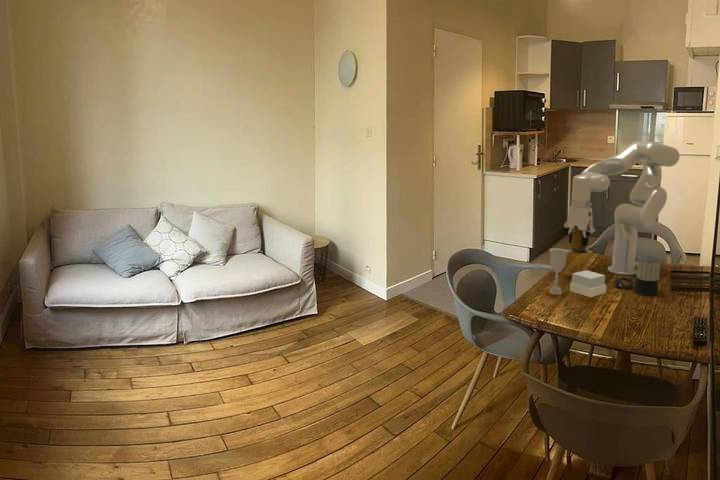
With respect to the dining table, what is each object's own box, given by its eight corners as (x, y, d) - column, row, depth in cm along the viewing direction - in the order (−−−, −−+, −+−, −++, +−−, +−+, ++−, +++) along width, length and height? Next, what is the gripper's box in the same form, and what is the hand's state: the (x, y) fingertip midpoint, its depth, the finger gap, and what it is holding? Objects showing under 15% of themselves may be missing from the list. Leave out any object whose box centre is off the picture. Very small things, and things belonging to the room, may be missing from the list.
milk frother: (661, 296, 240) (665, 261, 237) (619, 294, 243) (623, 259, 240) (651, 286, 254) (655, 252, 250) (612, 284, 257) (615, 250, 253)
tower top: (585, 279, 252) (586, 270, 251) (604, 284, 244) (605, 275, 243) (571, 282, 247) (572, 273, 246) (590, 288, 239) (591, 278, 239)
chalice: (544, 293, 244) (547, 251, 240) (548, 289, 250) (551, 247, 246) (563, 296, 241) (566, 253, 237) (566, 291, 247) (569, 249, 243)
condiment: (575, 248, 267) (576, 222, 264) (593, 251, 260) (594, 224, 258) (566, 251, 262) (567, 224, 259) (584, 254, 256) (585, 227, 253)
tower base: (584, 287, 253) (585, 278, 252) (605, 294, 245) (606, 284, 244) (569, 291, 248) (570, 282, 247) (590, 298, 240) (591, 288, 239)
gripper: (603, 205, 252) (600, 246, 256) (569, 200, 266) (567, 239, 270) (592, 207, 248) (589, 249, 252) (558, 202, 262) (556, 241, 266)
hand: (578, 243), depth 261 cm, fingers closed on condiment, 6 cm apart
